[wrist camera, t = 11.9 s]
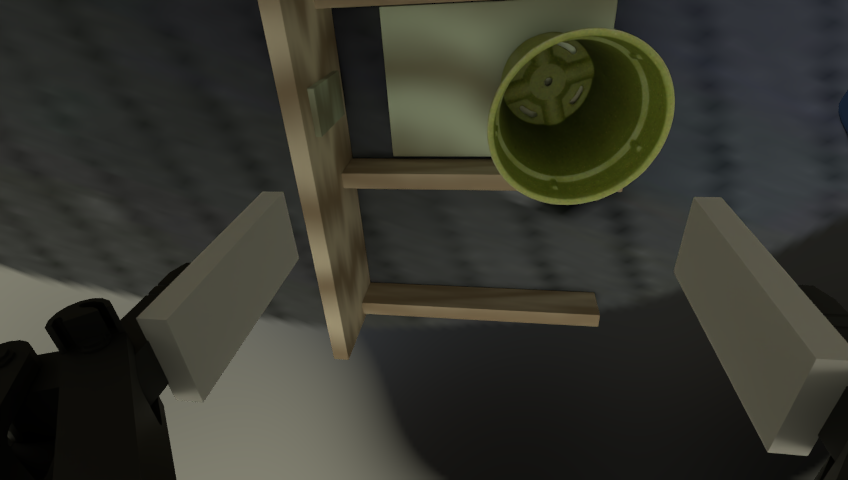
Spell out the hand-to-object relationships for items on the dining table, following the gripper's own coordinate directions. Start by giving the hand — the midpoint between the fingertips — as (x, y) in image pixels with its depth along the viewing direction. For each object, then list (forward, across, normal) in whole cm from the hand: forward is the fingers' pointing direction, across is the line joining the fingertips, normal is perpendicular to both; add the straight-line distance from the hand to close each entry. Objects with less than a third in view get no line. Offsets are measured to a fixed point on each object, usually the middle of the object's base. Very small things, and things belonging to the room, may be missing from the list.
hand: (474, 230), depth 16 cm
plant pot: (+20, +4, 0) cm, 20 cm away
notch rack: (+20, -1, -6) cm, 21 cm away
